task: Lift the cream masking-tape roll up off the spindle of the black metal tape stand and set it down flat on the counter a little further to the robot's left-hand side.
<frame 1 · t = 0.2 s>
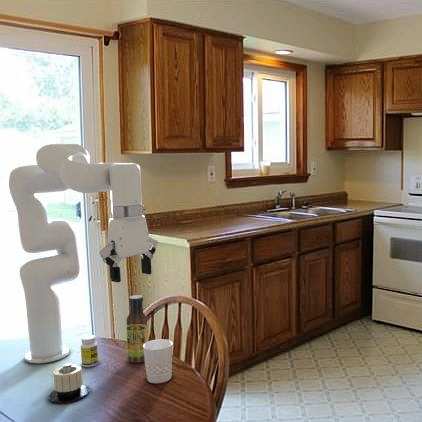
hand: (131, 277, 138), 31 cm above the table, tool pointing down, fingers open, 9 cm apart
white cup: (159, 379, 149), on the table
supplement bottle: (90, 364, 161), on the table
tape stand: (69, 394, 141), on the table
tape roll: (68, 386, 140), point 2 cm above the table, touching tape stand
sauce bottle: (138, 360, 163), on the table
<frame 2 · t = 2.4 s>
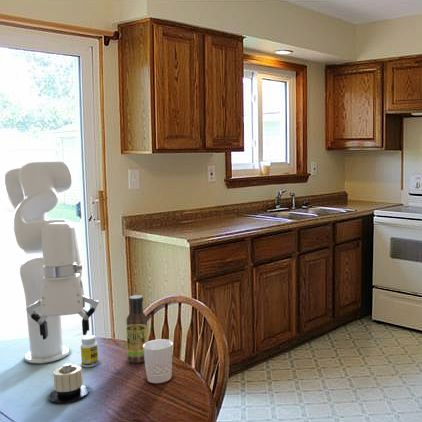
hand: (65, 335, 138), 16 cm above the table, tool pointing down, fingers open, 9 cm apart
nothing on the table moved.
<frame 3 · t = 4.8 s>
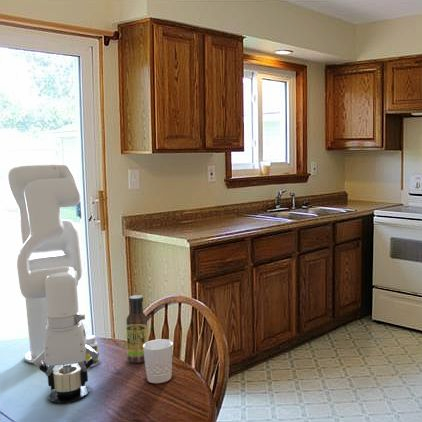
hand: (68, 385, 140), 3 cm above the table, tool pointing down, fingers closed on tape roll, 6 cm apart
tape roll: (68, 386, 140), point 2 cm above the table, touching gripper, tape stand
everything else where it was.
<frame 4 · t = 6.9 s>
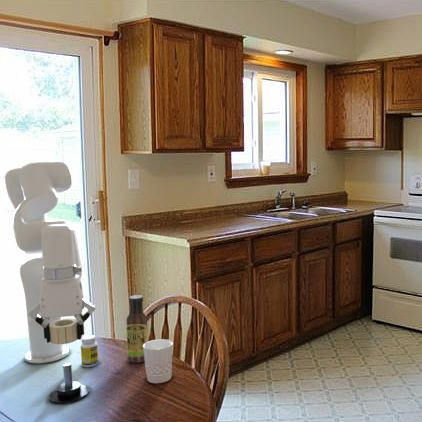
hand: (64, 338, 139), 15 cm above the table, tool pointing down, fingers closed on tape roll, 6 cm apart
tape roll: (64, 339, 139), point 15 cm above the table, touching gripper
everything else where it was.
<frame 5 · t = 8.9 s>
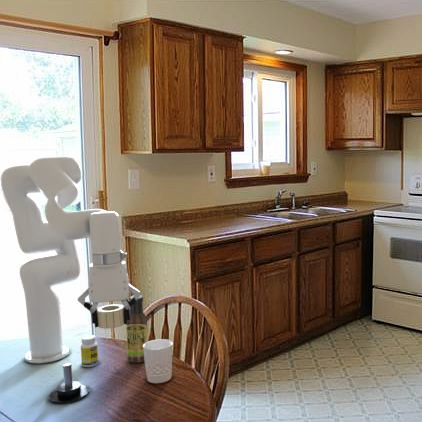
hand: (111, 323, 142), 18 cm above the table, tool pointing down, fingers closed on tape roll, 6 cm apart
tape roll: (111, 324, 142), point 18 cm above the table, touching gripper
everything else where it was.
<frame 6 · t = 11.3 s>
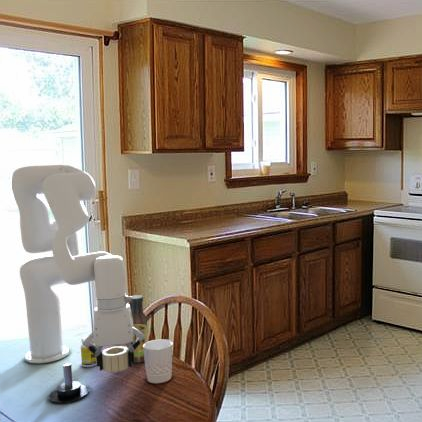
hand: (116, 366, 144), 6 cm above the table, tool pointing down, fingers closed on tape roll, 6 cm apart
tape roll: (116, 366, 144), point 6 cm above the table, touching gripper
everything else where it was.
when the fingers open (0 cm above the table, at t = 13.2 s): tape roll stays where it is, on the table.
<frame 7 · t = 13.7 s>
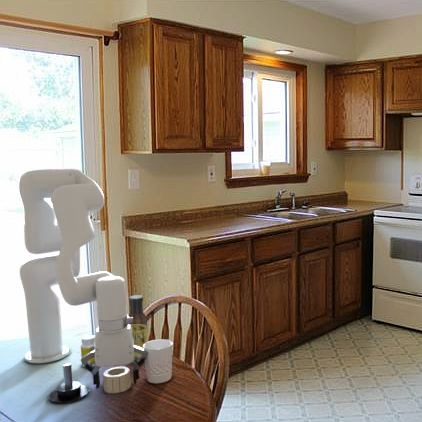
hand: (116, 384, 144), 1 cm above the table, tool pointing down, fingers open, 9 cm apart
tape roll: (117, 387, 144), on the table
everything else where it was.
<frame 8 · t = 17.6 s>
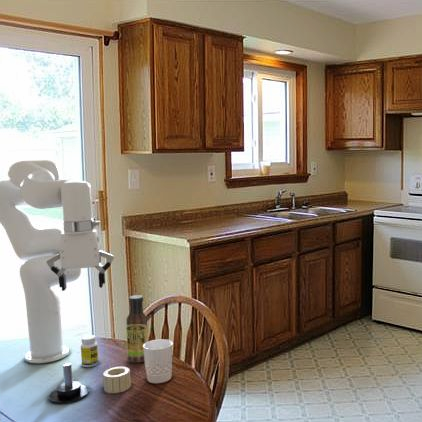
hand: (82, 288, 147), 26 cm above the table, tool pointing down, fingers open, 9 cm apart
nothing on the table moved.
at the end: tape roll inside the target area (0.2 cm from its centre), on the table; tape roll tilted 0°; tape roll moved 12.4 cm from its start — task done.
